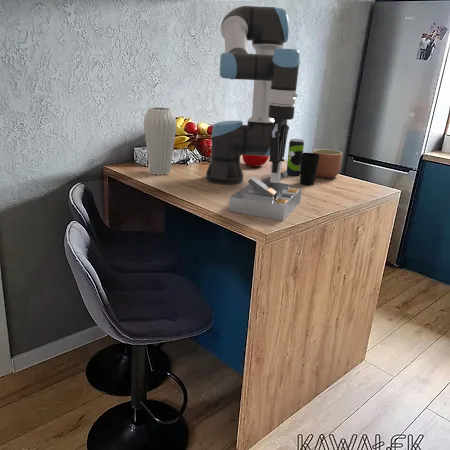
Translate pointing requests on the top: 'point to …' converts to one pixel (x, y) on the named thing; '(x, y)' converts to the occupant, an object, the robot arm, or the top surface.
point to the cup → (308, 168)
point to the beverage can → (294, 156)
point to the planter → (328, 163)
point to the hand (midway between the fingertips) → (274, 182)
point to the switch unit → (266, 201)
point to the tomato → (254, 160)
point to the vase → (160, 138)
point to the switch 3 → (283, 174)
